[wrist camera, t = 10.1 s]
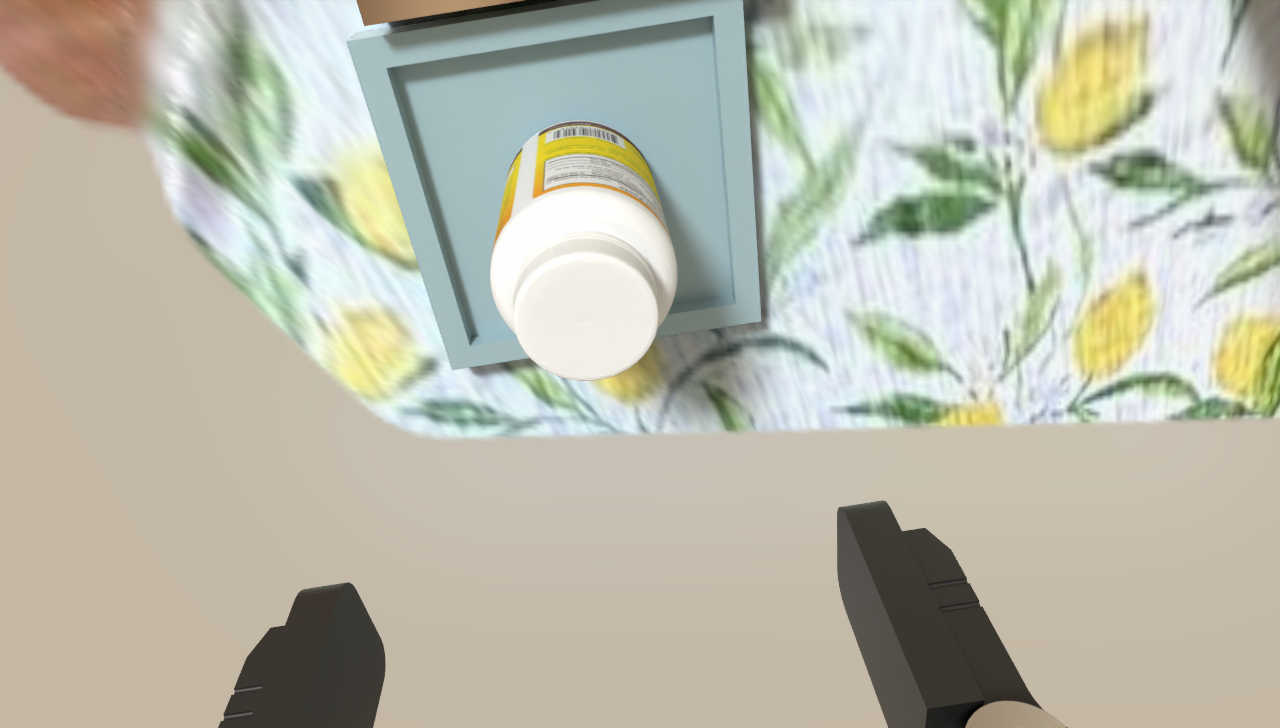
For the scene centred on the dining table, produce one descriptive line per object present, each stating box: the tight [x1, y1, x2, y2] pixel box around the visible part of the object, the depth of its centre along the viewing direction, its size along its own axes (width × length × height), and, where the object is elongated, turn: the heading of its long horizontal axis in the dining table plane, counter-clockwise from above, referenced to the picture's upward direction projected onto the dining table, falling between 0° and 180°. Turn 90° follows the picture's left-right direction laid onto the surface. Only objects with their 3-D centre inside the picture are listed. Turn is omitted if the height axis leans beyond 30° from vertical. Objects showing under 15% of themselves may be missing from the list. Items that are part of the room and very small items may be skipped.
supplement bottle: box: [490, 120, 678, 381], centre depth 25 cm, size 6×6×10 cm
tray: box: [346, 0, 761, 370], centre depth 30 cm, size 13×13×1 cm
